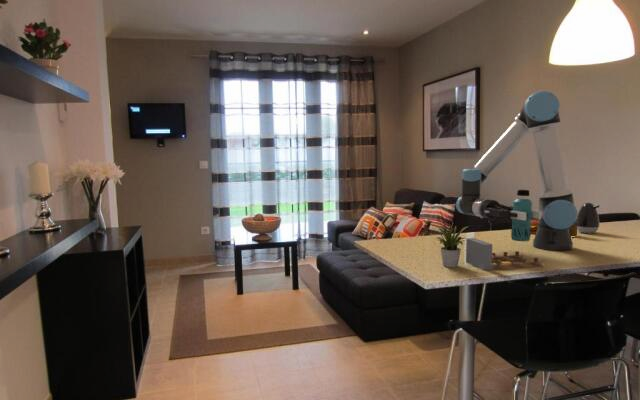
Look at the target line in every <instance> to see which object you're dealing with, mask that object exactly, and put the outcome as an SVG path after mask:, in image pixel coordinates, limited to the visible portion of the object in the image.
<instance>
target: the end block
mask: <svg viewBox="0 0 640 400" xmlns="http://www.w3.org/2000/svg"><path fill="white" fill-rule="evenodd" d="M465 239H466V240H465V242H466V243H465V245H466V246H465V263H466V264H469V265H471V266H474V267H475V268H478V269H480V270H483V271H491V270H492V264H493V263H492V253H493V244H492V243H489V242H487V241H483V240H480V239H479V238H475V237H470V238H468V237H465Z"/></svg>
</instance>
